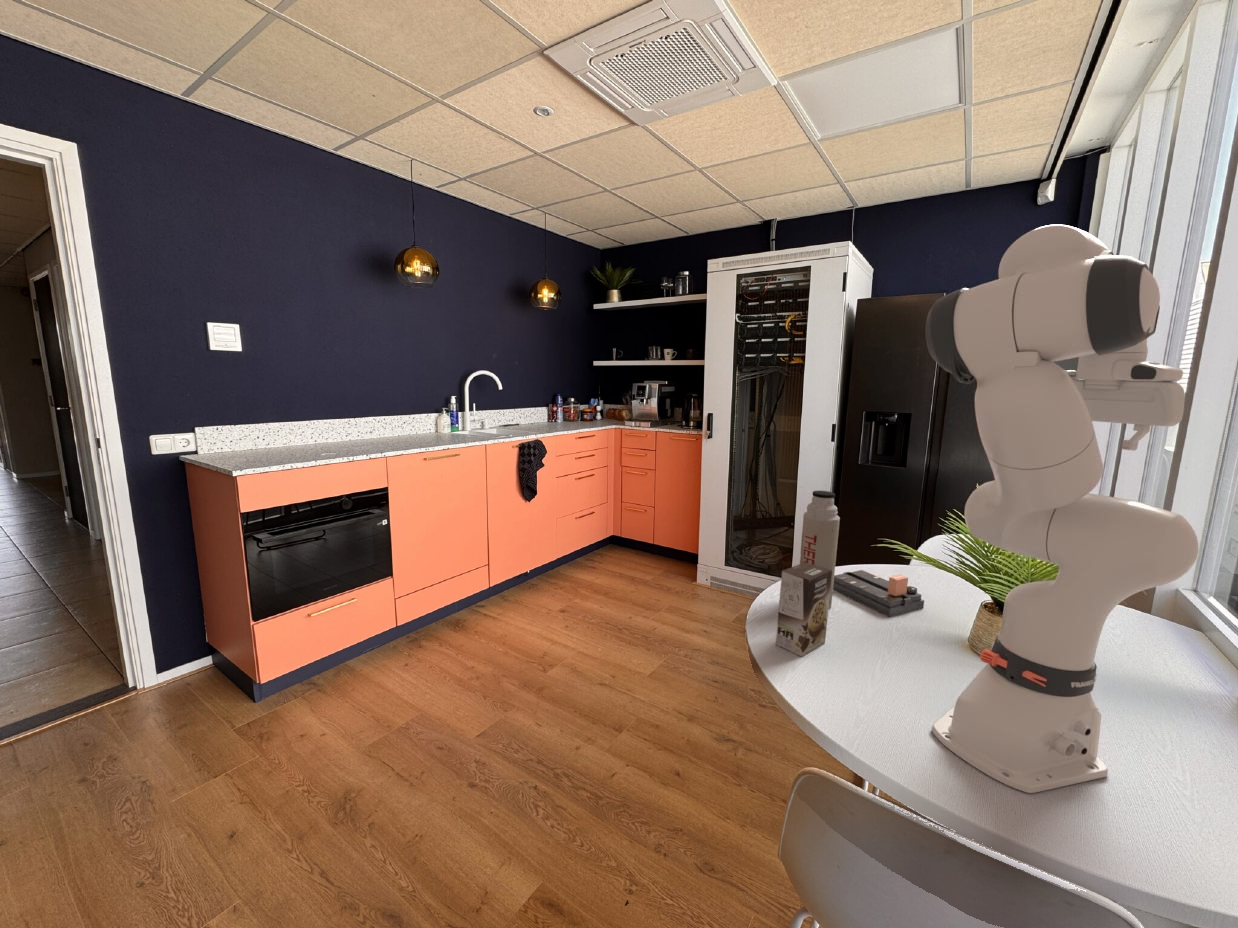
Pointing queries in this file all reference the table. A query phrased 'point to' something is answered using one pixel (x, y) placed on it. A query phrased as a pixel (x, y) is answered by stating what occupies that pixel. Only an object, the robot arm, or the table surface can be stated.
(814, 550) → the thermos bottle
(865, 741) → the table surface
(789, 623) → the coffee box
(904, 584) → the fader
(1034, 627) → the robot arm
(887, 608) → the block
